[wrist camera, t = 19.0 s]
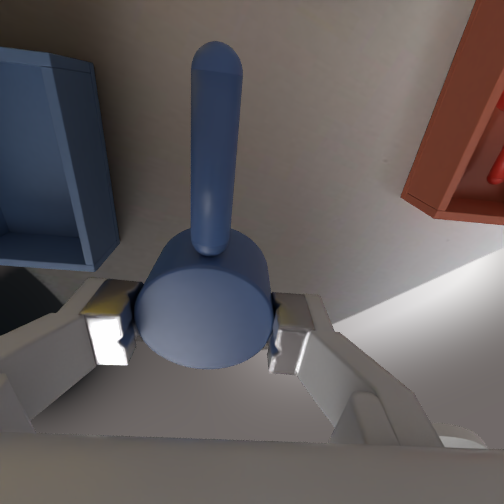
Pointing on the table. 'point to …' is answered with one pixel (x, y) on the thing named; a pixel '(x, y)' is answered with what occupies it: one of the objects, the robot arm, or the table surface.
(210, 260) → the blue scoop
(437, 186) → the terracotta bin
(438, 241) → the table surface
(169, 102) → the table surface
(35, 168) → the blue bin
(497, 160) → the red scoop
